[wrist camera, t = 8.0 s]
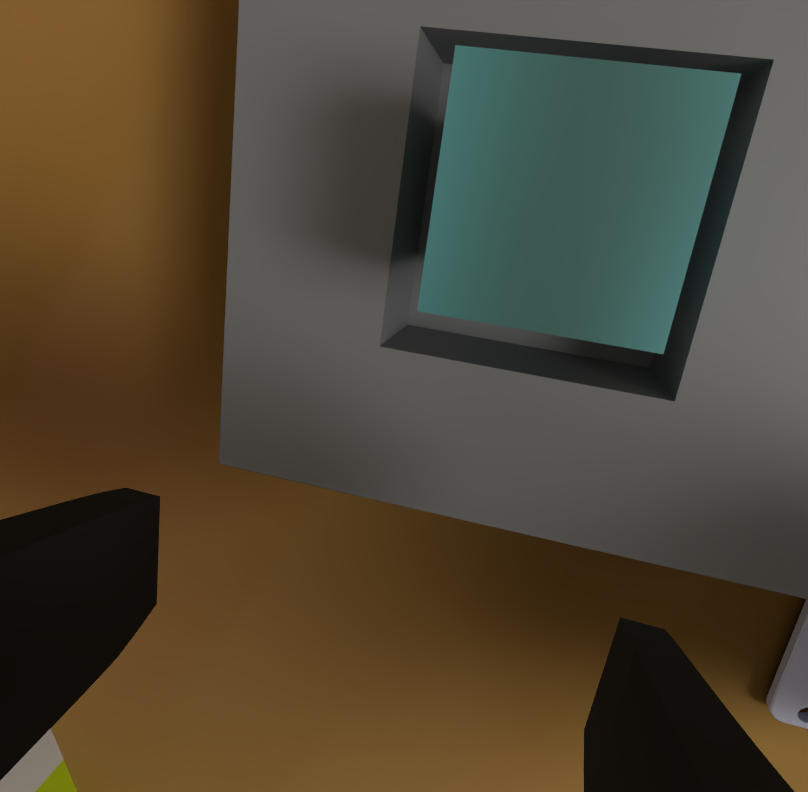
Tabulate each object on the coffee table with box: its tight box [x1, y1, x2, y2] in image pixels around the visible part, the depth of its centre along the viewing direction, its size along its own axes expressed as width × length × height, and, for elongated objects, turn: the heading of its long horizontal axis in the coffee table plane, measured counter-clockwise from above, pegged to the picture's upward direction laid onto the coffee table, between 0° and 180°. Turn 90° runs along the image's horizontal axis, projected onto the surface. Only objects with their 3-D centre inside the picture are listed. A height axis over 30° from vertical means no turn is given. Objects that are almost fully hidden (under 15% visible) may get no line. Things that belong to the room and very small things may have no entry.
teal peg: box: [417, 45, 741, 354], centre depth 12 cm, size 4×4×7 cm
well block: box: [218, 0, 808, 599], centre depth 14 cm, size 14×14×4 cm
